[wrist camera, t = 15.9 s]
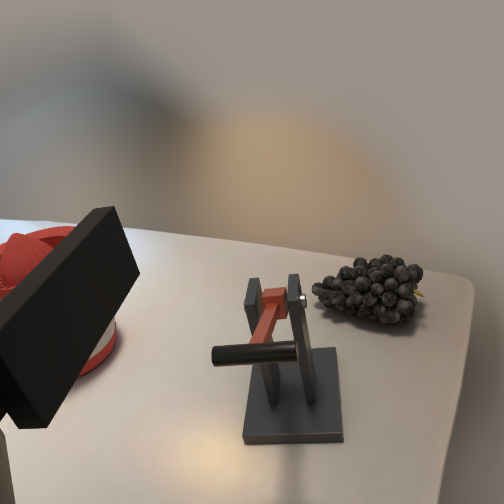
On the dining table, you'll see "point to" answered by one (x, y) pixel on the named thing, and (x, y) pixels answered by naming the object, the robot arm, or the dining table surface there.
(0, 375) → the robot arm
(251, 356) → the lever
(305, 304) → the bracket
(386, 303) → the fruit
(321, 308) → the dining table surface
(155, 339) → the dining table surface
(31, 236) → the citrus juicer
